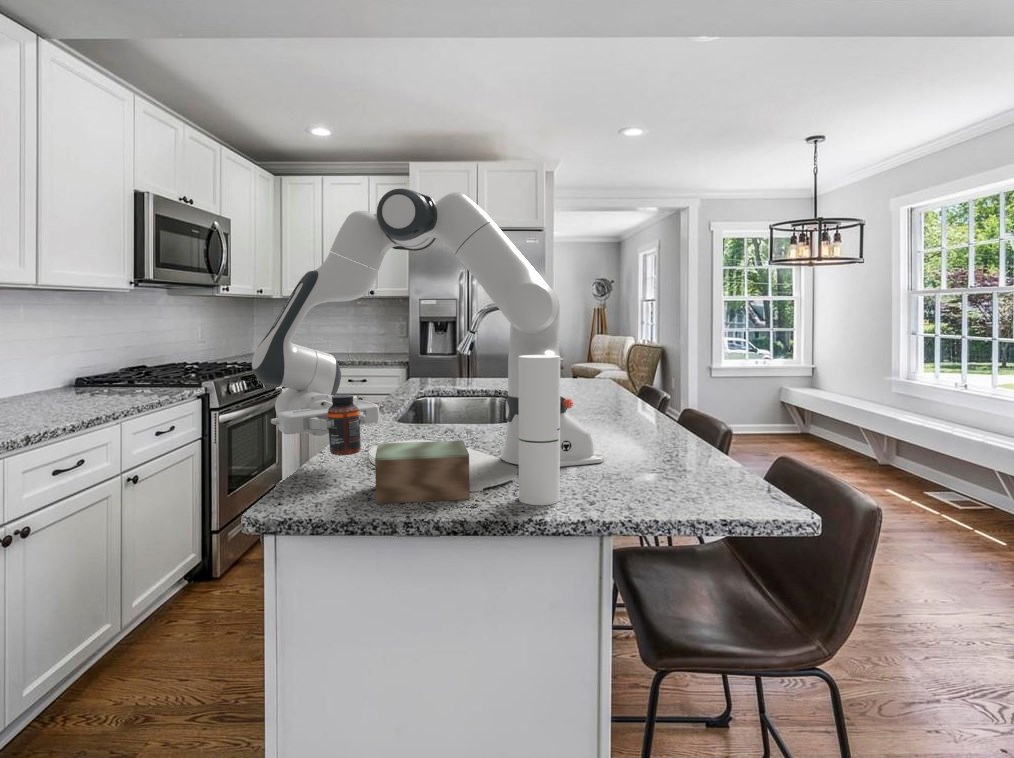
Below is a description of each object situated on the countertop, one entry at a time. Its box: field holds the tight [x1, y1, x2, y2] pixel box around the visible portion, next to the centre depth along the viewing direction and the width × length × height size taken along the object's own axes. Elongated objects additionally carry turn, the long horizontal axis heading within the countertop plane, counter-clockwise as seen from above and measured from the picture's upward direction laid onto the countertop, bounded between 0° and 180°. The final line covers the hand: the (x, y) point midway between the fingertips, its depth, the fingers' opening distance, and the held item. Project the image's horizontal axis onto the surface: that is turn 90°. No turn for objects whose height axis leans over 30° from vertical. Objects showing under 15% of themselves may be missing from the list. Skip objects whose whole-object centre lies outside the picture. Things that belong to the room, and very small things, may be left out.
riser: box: [374, 440, 471, 505], centre depth 116 cm, size 16×12×8 cm
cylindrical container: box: [518, 355, 561, 506], centre depth 110 cm, size 7×7×25 cm
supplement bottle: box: [328, 394, 362, 456], centre depth 125 cm, size 6×6×11 cm
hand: (346, 422), depth 124 cm, fingers closed on supplement bottle, 6 cm apart
